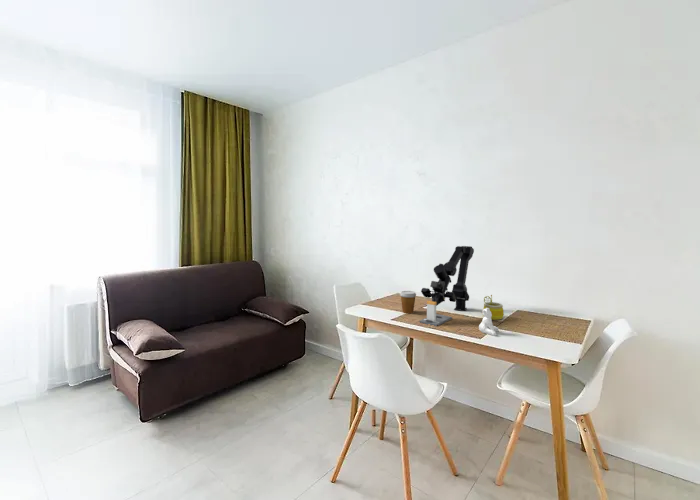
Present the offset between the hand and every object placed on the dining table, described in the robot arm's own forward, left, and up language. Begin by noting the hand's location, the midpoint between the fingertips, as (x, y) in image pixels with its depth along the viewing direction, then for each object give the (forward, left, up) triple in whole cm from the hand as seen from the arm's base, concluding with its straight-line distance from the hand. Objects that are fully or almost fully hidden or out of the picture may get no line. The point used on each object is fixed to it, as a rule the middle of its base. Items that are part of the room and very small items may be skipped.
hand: (432, 307), depth 182 cm
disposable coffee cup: (-14, -18, -8) cm, 24 cm away
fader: (+1, 0, -7) cm, 7 cm away
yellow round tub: (-24, +28, -8) cm, 38 cm away
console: (-4, +1, -8) cm, 9 cm away
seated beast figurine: (+4, +28, -8) cm, 30 cm away
